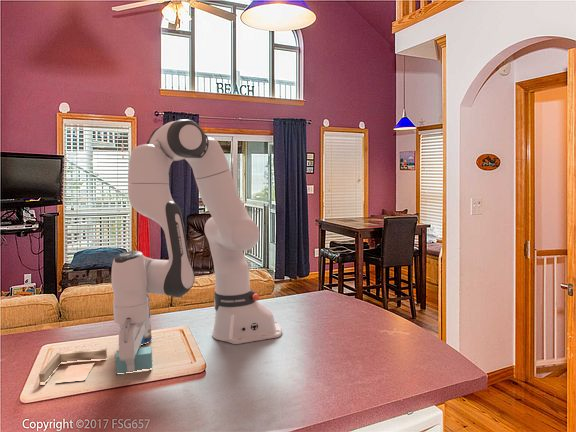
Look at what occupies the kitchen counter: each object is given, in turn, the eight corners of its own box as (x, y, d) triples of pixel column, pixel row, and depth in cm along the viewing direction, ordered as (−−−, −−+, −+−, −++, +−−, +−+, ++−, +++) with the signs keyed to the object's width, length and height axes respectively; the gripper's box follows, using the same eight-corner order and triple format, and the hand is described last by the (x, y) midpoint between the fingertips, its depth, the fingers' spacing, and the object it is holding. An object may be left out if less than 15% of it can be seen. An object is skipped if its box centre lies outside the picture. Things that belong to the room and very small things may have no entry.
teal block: (152, 363, 122) (151, 346, 122) (152, 371, 118) (151, 353, 117) (118, 368, 120) (117, 350, 120) (116, 376, 115) (115, 357, 115)
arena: (107, 358, 126) (106, 348, 126) (95, 380, 113) (94, 368, 112) (57, 363, 124) (57, 353, 123) (39, 385, 110) (39, 374, 110)
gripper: (137, 324, 108) (140, 379, 109) (148, 301, 128) (151, 347, 129) (110, 327, 107) (114, 381, 108) (125, 303, 127) (128, 349, 128)
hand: (134, 363), depth 119 cm, fingers open, 8 cm apart
